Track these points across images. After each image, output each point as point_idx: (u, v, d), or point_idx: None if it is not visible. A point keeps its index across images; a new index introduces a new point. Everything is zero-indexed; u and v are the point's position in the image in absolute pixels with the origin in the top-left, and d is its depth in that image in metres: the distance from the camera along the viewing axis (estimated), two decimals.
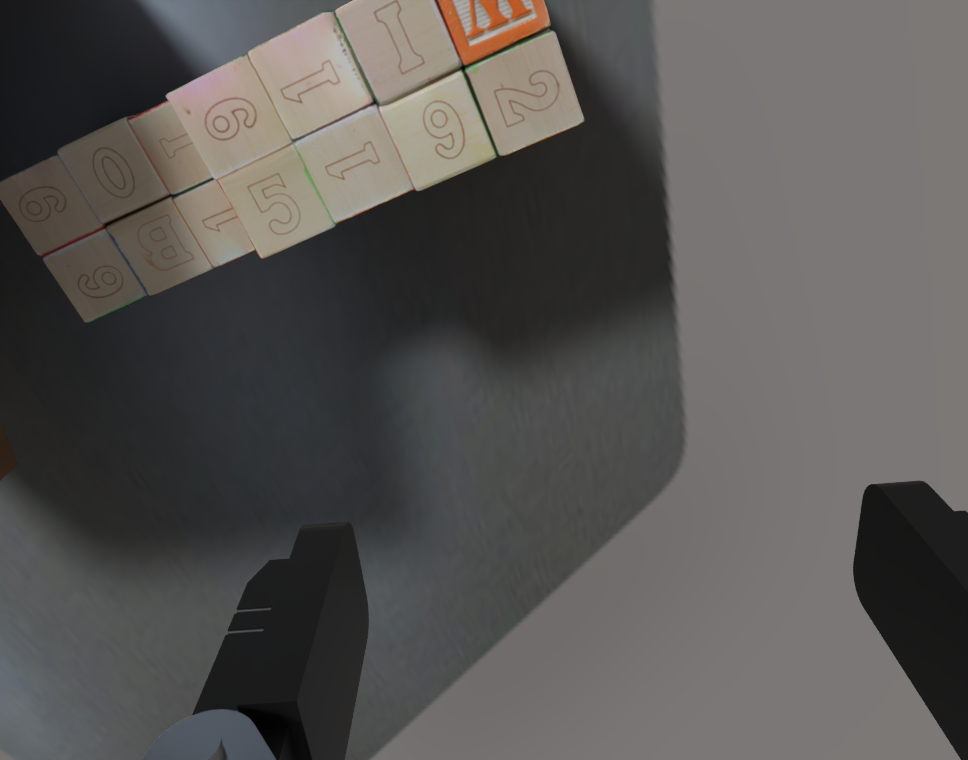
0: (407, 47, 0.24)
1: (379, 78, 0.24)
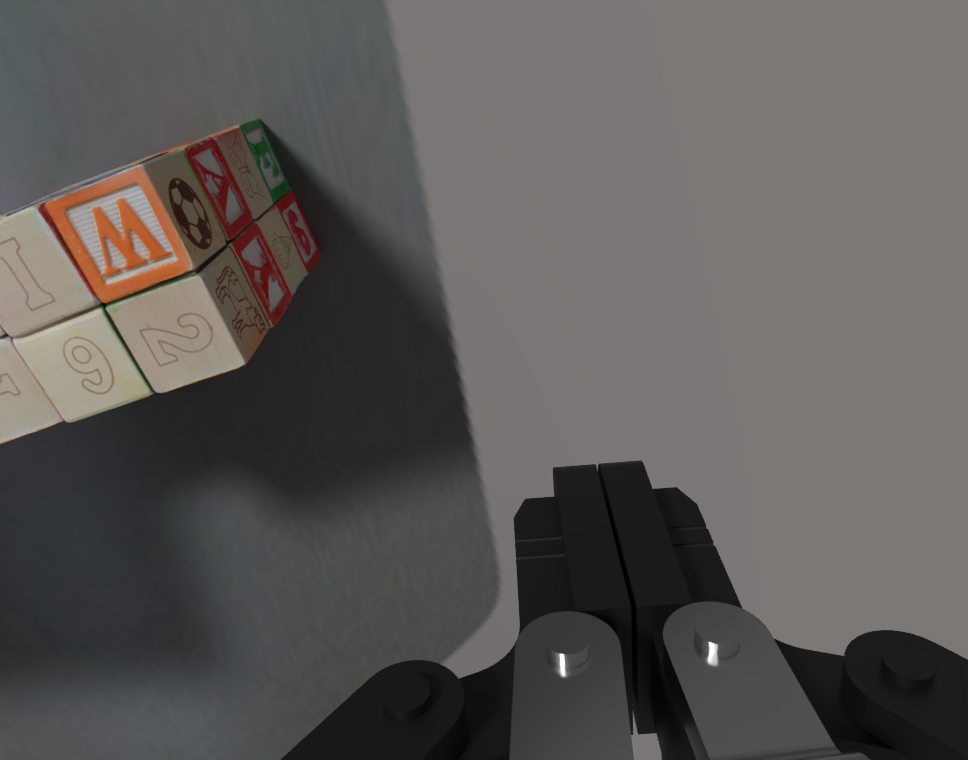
0: (32, 284, 0.22)
1: (5, 313, 0.22)
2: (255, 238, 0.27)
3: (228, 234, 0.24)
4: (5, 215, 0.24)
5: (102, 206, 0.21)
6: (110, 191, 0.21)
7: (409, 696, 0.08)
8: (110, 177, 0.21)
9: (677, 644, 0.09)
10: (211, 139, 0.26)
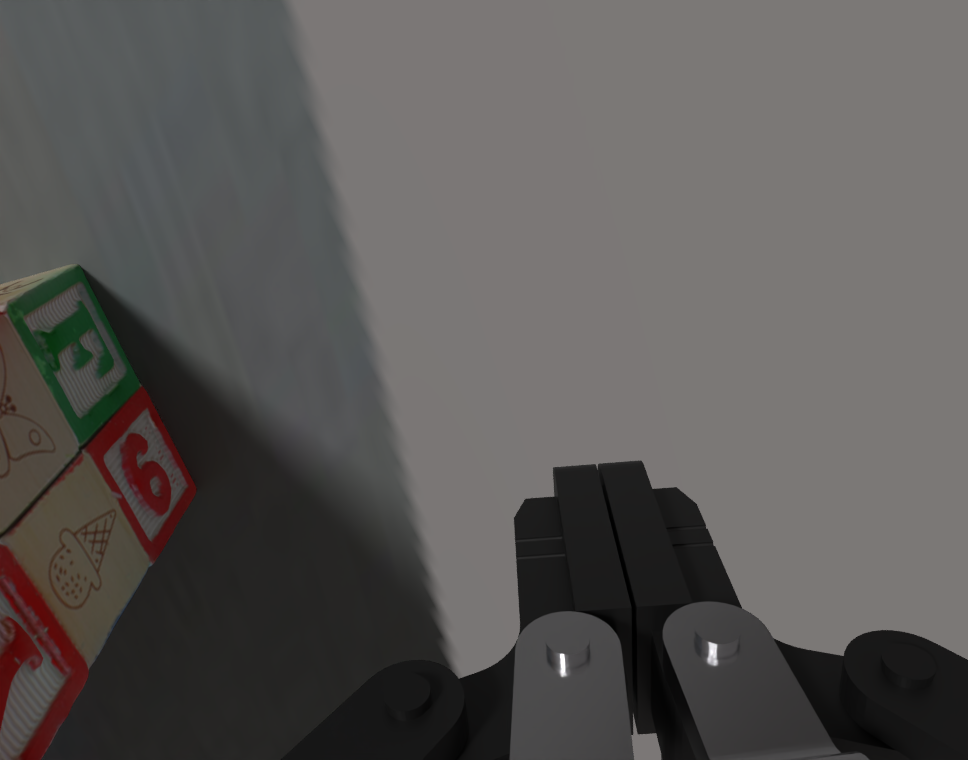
0: None
1: None
2: None
3: None
4: None
5: None
6: None
7: (409, 696, 0.08)
8: None
9: (677, 644, 0.09)
10: None
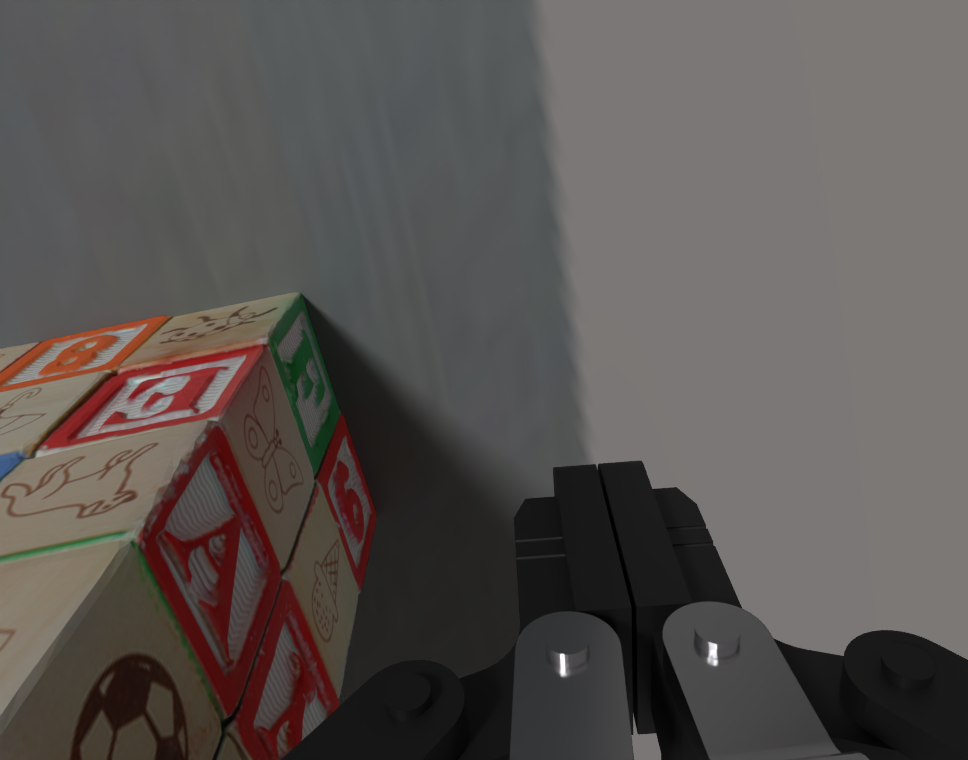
0: None
1: None
2: (283, 621, 0.12)
3: (229, 707, 0.10)
4: None
5: None
6: None
7: (408, 696, 0.08)
8: None
9: (677, 644, 0.09)
10: (211, 432, 0.11)
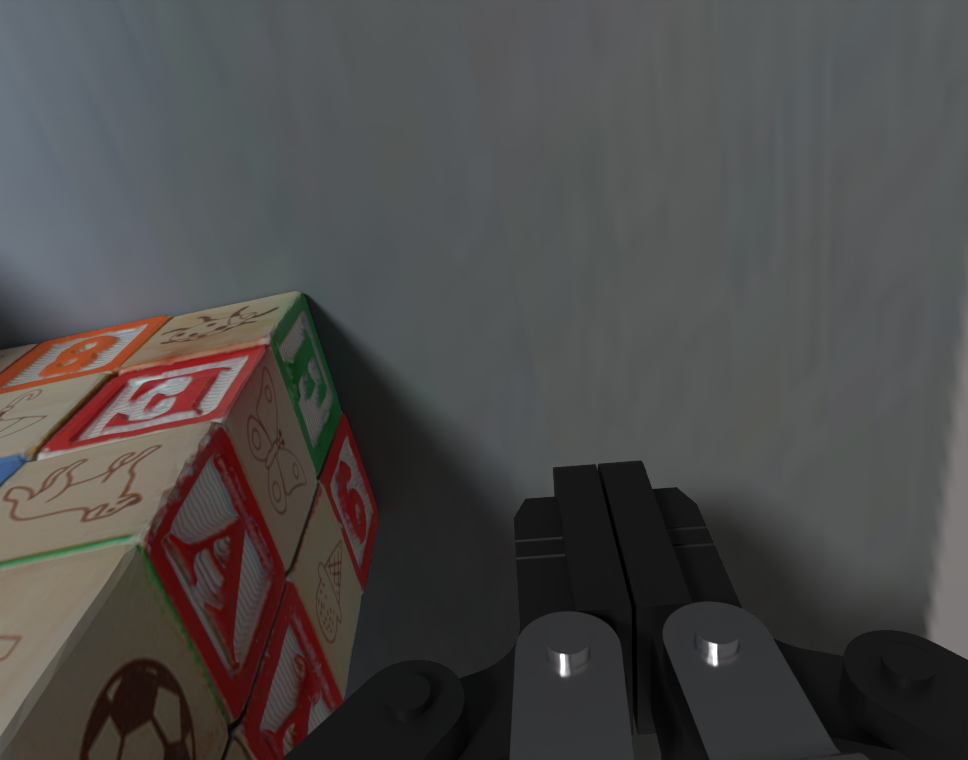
0: None
1: None
2: (288, 622, 0.12)
3: (236, 710, 0.10)
4: None
5: None
6: None
7: (408, 696, 0.08)
8: None
9: (677, 644, 0.09)
10: (215, 433, 0.11)
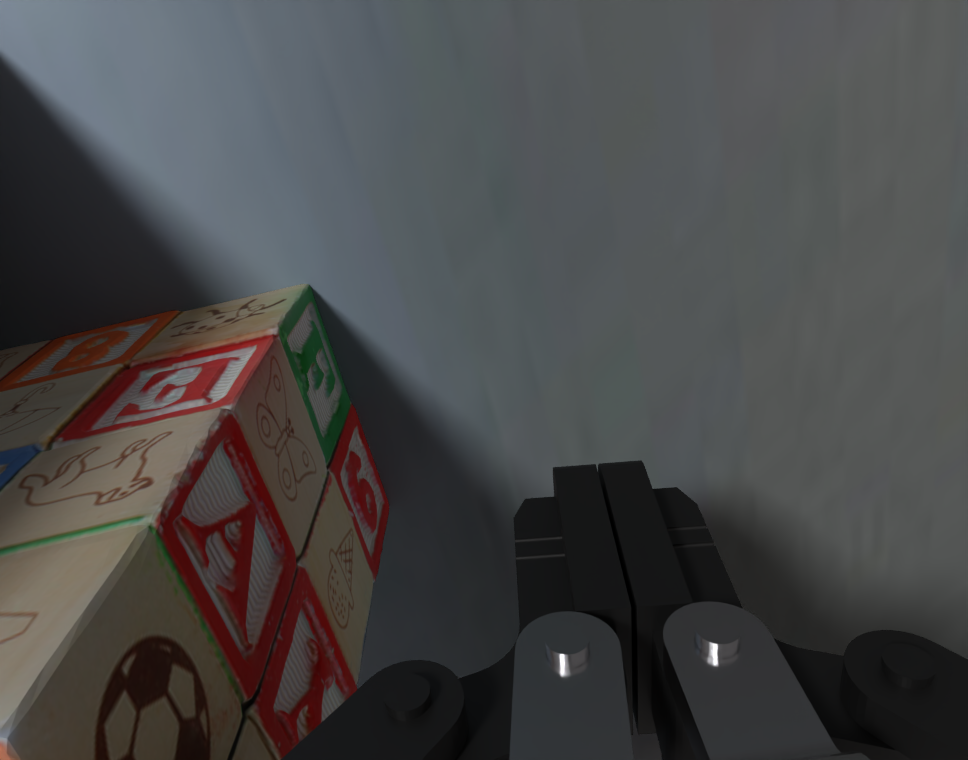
0: None
1: None
2: (300, 607, 0.13)
3: (250, 689, 0.10)
4: None
5: None
6: None
7: (408, 696, 0.08)
8: None
9: (677, 644, 0.09)
10: (224, 419, 0.11)
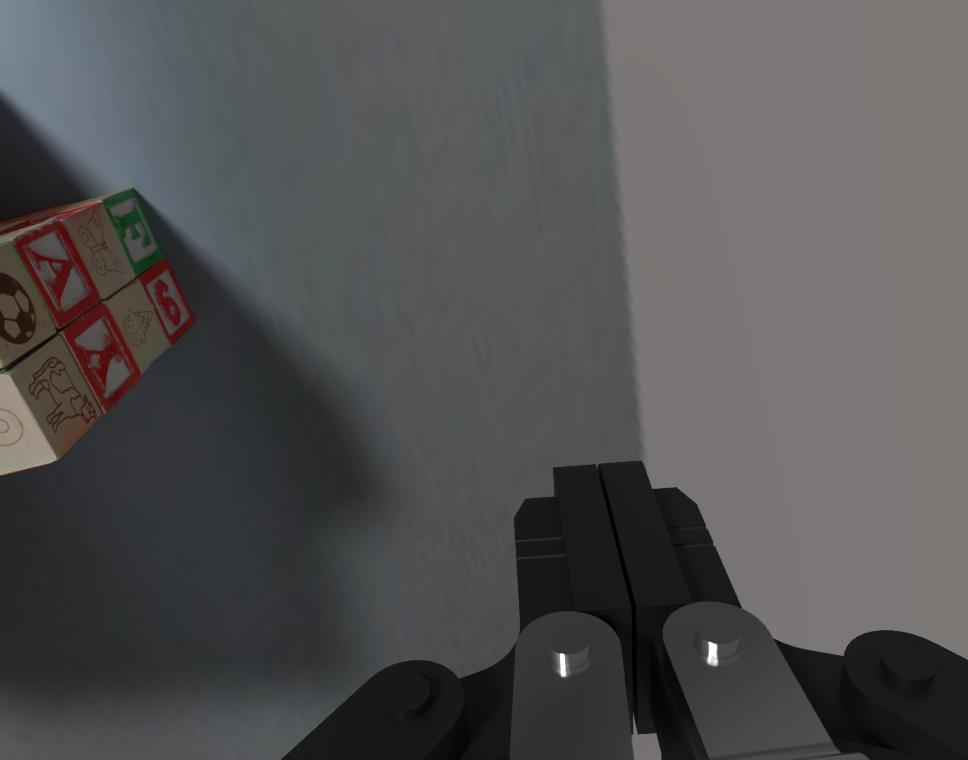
0: None
1: None
2: (101, 319, 0.27)
3: (59, 322, 0.24)
4: None
5: None
6: None
7: (409, 696, 0.08)
8: None
9: (676, 644, 0.09)
10: (56, 222, 0.26)
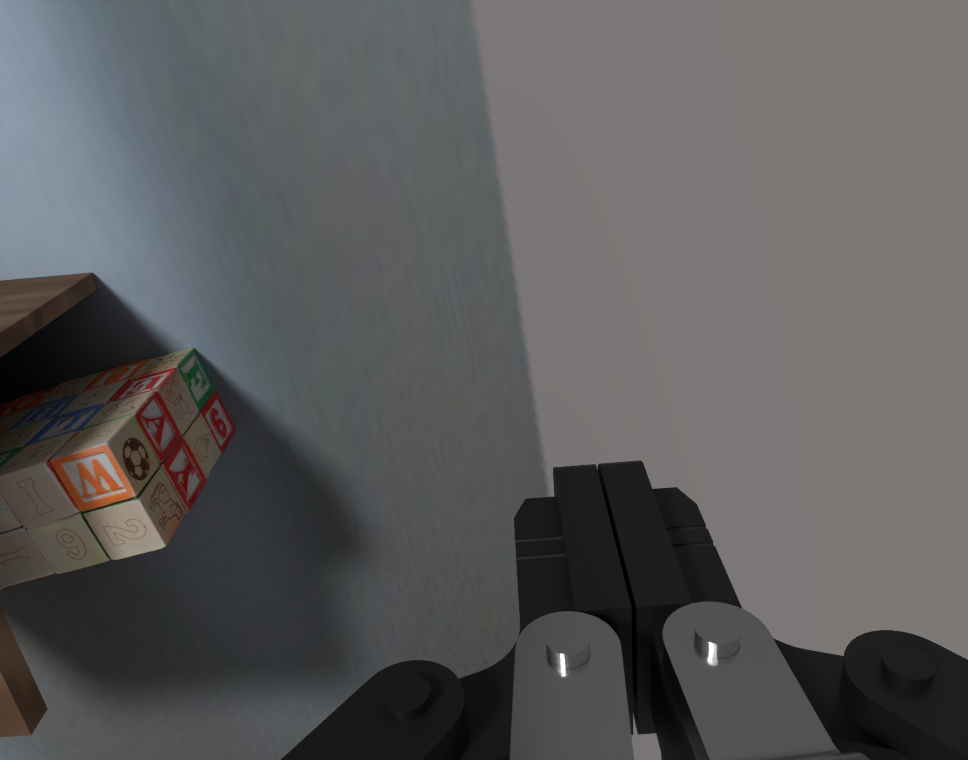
0: (40, 501, 0.37)
1: (23, 515, 0.37)
2: (182, 449, 0.42)
3: (161, 459, 0.40)
4: (24, 444, 0.39)
5: (83, 462, 0.36)
6: (87, 455, 0.36)
7: (408, 696, 0.08)
8: (88, 448, 0.36)
9: (676, 644, 0.09)
10: (154, 393, 0.41)
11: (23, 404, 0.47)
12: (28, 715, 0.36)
